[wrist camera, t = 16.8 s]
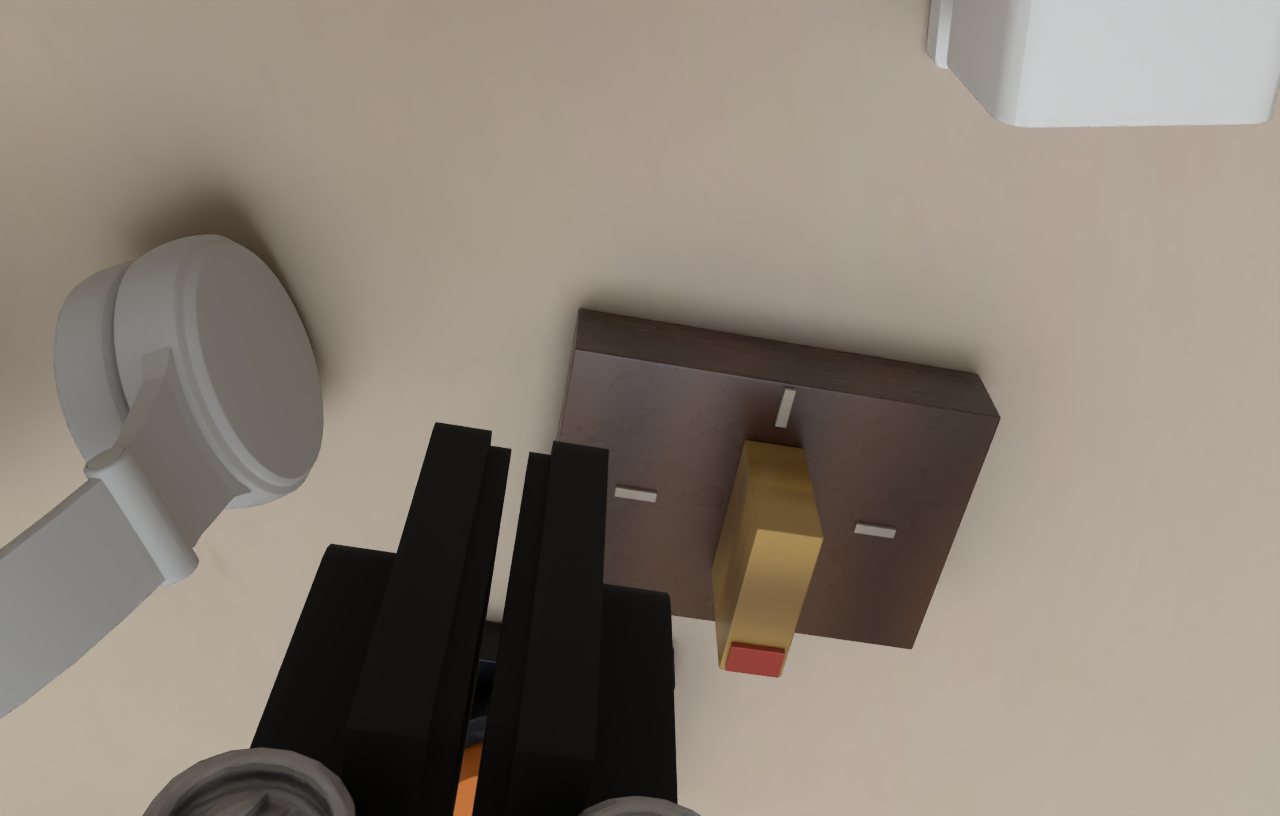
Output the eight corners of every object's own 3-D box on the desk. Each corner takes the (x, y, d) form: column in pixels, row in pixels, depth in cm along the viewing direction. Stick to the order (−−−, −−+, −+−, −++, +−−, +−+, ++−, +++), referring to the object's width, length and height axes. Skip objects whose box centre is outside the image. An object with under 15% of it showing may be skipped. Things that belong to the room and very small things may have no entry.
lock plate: (538, 545, 45) (531, 598, 42) (578, 307, 40) (574, 351, 37) (896, 597, 46) (912, 653, 44) (979, 373, 41) (1002, 420, 39)
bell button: (444, 805, 47) (437, 842, 45) (454, 732, 45) (448, 767, 43) (545, 818, 47) (542, 855, 46) (559, 746, 45) (557, 782, 44)
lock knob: (744, 439, 39) (758, 533, 35) (804, 448, 39) (825, 543, 35) (710, 571, 42) (719, 674, 37) (766, 579, 42) (781, 683, 37)
